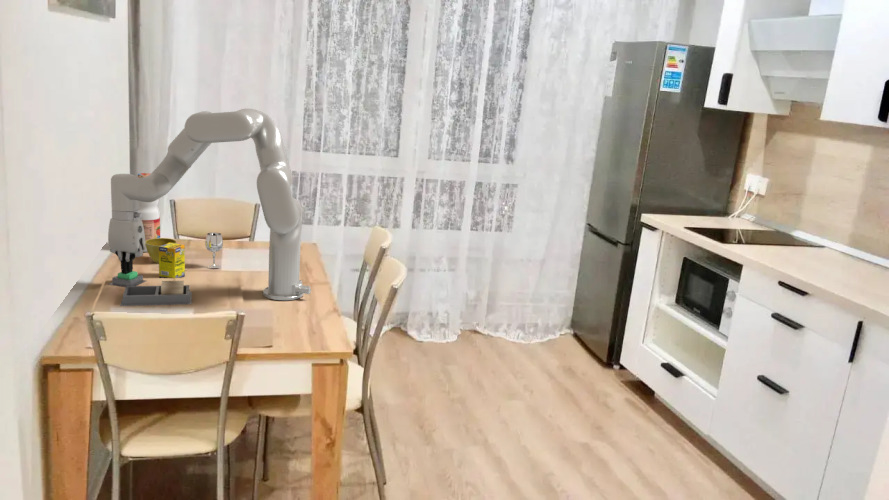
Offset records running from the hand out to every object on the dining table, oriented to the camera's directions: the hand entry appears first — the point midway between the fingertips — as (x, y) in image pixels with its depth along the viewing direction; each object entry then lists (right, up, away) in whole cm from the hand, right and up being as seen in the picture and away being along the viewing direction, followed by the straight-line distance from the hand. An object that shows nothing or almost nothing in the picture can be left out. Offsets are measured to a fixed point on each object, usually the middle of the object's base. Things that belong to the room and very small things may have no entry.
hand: (126, 272), depth 213 cm
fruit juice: (-11, +7, +40) cm, 43 cm away
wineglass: (+18, +1, +27) cm, 32 cm away
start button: (0, -2, +1) cm, 3 cm away
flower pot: (-1, +3, +28) cm, 28 cm away
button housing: (0, -4, +1) cm, 4 cm away
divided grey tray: (+14, -8, -10) cm, 19 cm away
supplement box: (+9, -2, +12) cm, 16 cm away
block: (+18, -7, -9) cm, 21 cm away
